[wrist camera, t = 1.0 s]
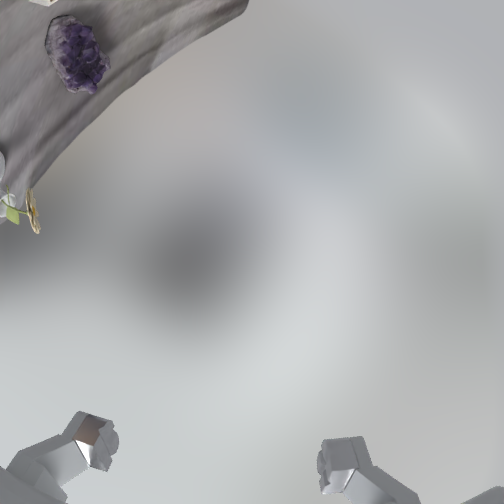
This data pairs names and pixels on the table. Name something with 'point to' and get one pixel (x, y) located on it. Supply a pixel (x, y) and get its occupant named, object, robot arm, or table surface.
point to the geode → (75, 54)
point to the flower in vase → (5, 203)
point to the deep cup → (44, 2)
